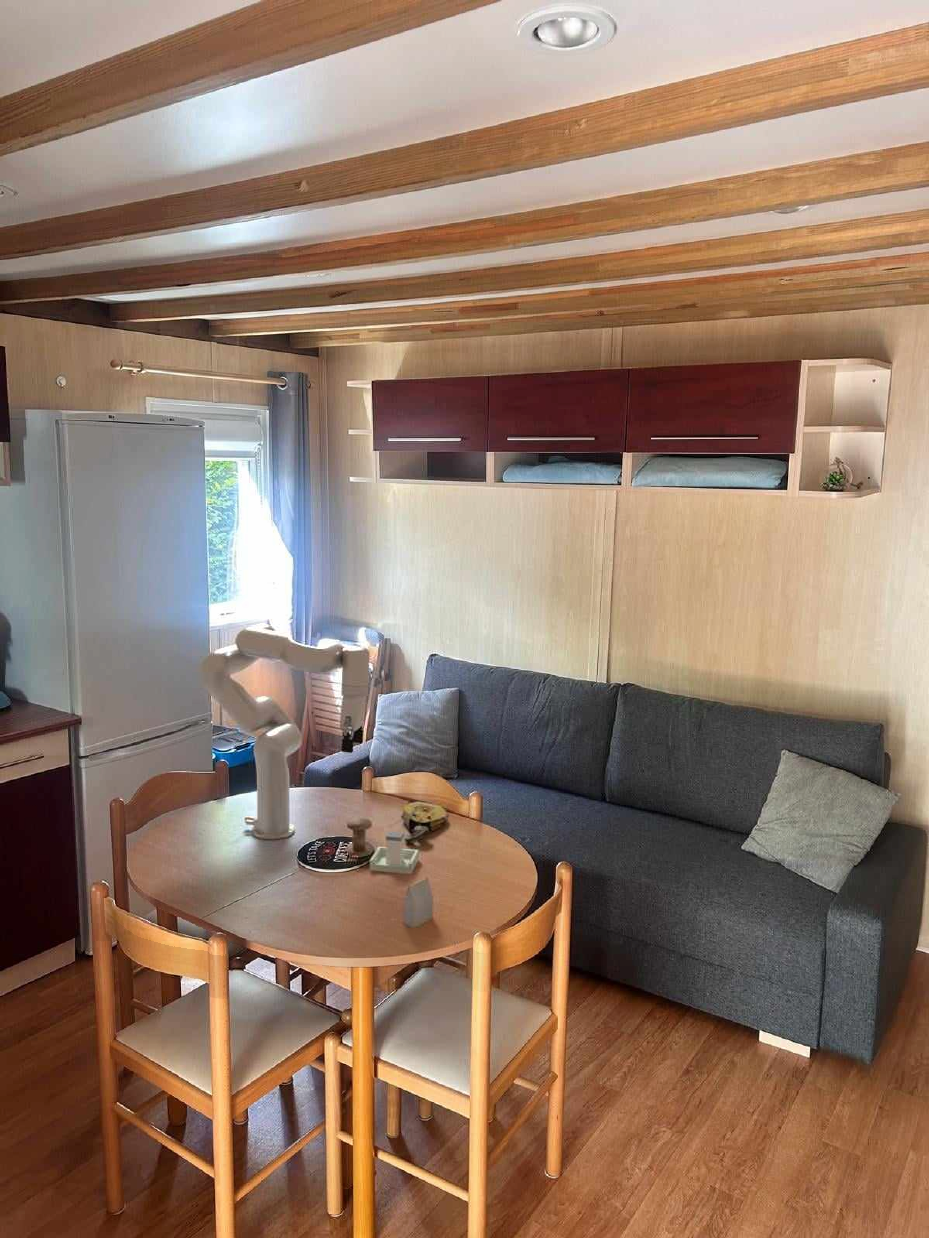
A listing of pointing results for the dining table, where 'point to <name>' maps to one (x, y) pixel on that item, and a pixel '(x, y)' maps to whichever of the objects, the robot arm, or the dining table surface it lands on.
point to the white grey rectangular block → (394, 847)
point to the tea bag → (418, 903)
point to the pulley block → (422, 819)
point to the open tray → (406, 866)
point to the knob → (359, 837)
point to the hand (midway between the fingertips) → (352, 747)
